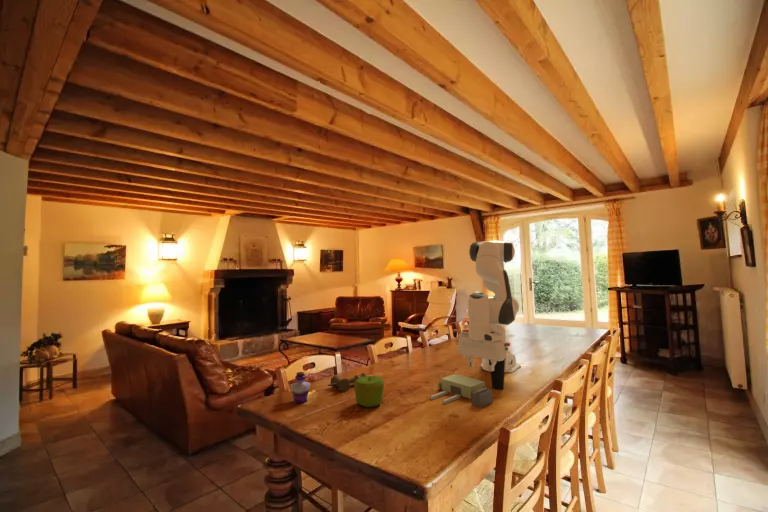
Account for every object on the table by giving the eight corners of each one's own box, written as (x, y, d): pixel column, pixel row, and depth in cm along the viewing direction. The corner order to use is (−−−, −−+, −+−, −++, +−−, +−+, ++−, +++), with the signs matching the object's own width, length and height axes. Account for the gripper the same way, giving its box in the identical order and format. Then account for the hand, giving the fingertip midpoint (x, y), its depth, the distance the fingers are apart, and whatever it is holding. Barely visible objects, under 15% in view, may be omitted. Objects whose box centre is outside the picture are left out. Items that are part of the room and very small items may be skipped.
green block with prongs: (453, 383, 163) (453, 373, 163) (489, 393, 148) (488, 382, 149) (420, 395, 149) (420, 383, 149) (456, 408, 134) (455, 395, 134)
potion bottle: (314, 398, 148) (314, 370, 149) (305, 406, 140) (304, 376, 141) (296, 397, 151) (296, 369, 151) (286, 404, 142) (285, 374, 143)
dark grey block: (484, 400, 142) (483, 385, 142) (492, 402, 139) (492, 388, 139) (472, 405, 137) (471, 390, 137) (480, 408, 134) (480, 393, 134)
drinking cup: (487, 389, 154) (485, 344, 155) (490, 384, 161) (489, 341, 162) (505, 391, 151) (503, 345, 152) (508, 386, 157) (506, 342, 158)
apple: (368, 396, 149) (368, 370, 149) (391, 402, 141) (390, 374, 142) (348, 405, 139) (347, 377, 140) (370, 413, 131) (370, 382, 132)
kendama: (370, 386, 164) (332, 395, 152) (359, 382, 172) (322, 389, 160) (370, 373, 164) (332, 381, 153) (359, 370, 172) (322, 376, 161)
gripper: (454, 331, 145) (455, 365, 144) (497, 337, 129) (499, 375, 129) (463, 330, 149) (464, 362, 148) (506, 335, 133) (508, 371, 133)
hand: (481, 368), depth 138 cm, fingers open, 8 cm apart
